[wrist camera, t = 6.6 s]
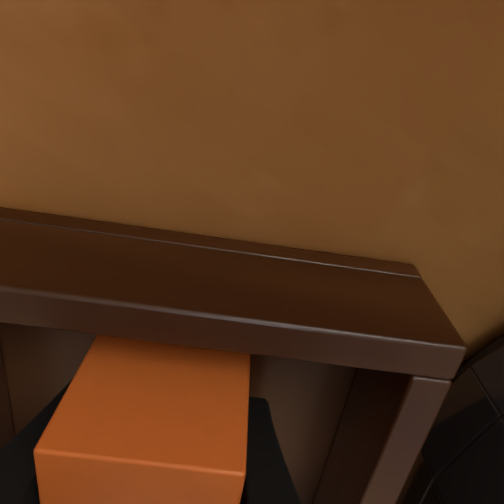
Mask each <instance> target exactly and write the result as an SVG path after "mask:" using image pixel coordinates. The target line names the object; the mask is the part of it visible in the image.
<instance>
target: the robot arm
mask: <svg viewBox="0 0 504 504" xmlns="http://www.w3.org/2000/svg"><path fill="white" fill-rule="evenodd" d="M71 381H72V380H71ZM71 381H70V382H69V383H68V384H67V385H66V386H65V387H64V388H63V389H62V390H61V391H60V392H59V393H58V394H57V395H56V396H55V397H54V399H53V400H52V401H51V402H50V403H49V404H48V405H47V406H46V407H45V408H44V409H43V410H42V411H41V412H40V413H38V414H37V415H36V416H35V417H34V418H33V419H32V420H31V421H30V422H29V423H28V424H27V425H26V426H25V427H24V428H23V429H22V430H21V431H20V432H19V433H18V434H16V435H15V436H14V437H13V438H12V439H11V440H10V441H9V442H8V443H7V444H6V445H5V446H4V447H3V448H1V449H0V504H40V501H39V493H38V485H37V477H36V469H35V461H34V453H33V452H34V448H35V446H36V445H37V443H38V441H39V439H40V437H41V435H42V434H43V432H44V430H45V428H46V426H47V425H48V423H49V421H50V419H51V417H52V416H53V414H54V412H55V410H56V408H57V407H58V405H59V403H60V401H61V399H62V397H63V396H64V394H65V392H66V390H67V388H68V387H69V385H70V383H71ZM240 504H302V503H301V501H300V498H299V496H298V493H297V491H296V488H295V486H294V483H293V481H292V478H291V475H290V473H289V470H288V467H287V465H286V462H285V459H284V456H283V454H282V451H281V448H280V445H279V441H278V438H277V435H276V432H275V428H274V425H273V421H272V417H271V412H270V408H269V402H268V401H267V400H266V399H265V398H258V397H250V396H249V407H248V434H247V462H246V477H245V481H244V486H243V491H242V496H241V500H240Z"/></svg>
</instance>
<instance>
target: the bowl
mask: <svg viewBox="0 0 504 504" xmlns="http://www.w3.org/2000/svg"><path fill="white" fill-rule="evenodd" d="M451 381H452V385H451V387H450V389H449V391H448V393H447V396H446V398H445V400H444V402H443V404H442V406H441V408H440V410H439V413H438V415H437V417H436V419H435V421H434V423H433V425H432V427H431V430H430V432H429V434H428V436H427V438H426V440H425V442H424V444H423V447H422V449H421V451H420V453H419V455H418V457H417V459H416V461H415V464H414V466H413V468H412V470H411V472H410V474H409V476H408V478H407V481H406V483H405V485H404V487H403V489H402V491H401V493H400V495H399V497H398V500H397V502H396V504H504V335H503V336H501V337H500V338H498V339H497V340H495V341H494V342H492V343H491V344H489V345H488V346H486V347H485V348H484V349H482V350H481V351H480V352H478V353H477V354H476V355H475V356H474V357H473V358H471V359H470V360H469V361H468V362H467V363H465V364H464V365H463V366H462V367H461V368H459V369H458V371H457V373H456V375H455V377H454V378H453V379H451Z"/></svg>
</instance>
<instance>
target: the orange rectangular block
mask: <svg viewBox="0 0 504 504" xmlns="http://www.w3.org/2000/svg"><path fill="white" fill-rule="evenodd" d="M249 379H250V354H244V353H237V352H229V351H221V350H213V349H205V348H197V347H189V346H182V345H174V344H166V343H158V342H150V341H142V340H134V339H127V338H119V337H111V336H103V335H97V336H96V338H95V340H94V341H93V343H92V345H91V347H90V349H89V350H88V352H87V354H86V356H85V358H84V359H83V361H82V363H81V365H80V367H79V369H78V370H77V372H76V374H75V376H74V378H73V379H72V381H71V383H70V385H69V387H68V388H67V390H66V392H65V394H64V396H63V397H62V399H61V401H60V403H59V405H58V407H57V408H56V410H55V412H54V414H53V416H52V417H51V419H50V421H49V423H48V425H47V426H46V428H45V430H44V432H43V434H42V435H41V437H40V439H39V441H38V443H37V445H36V446H35V448H34V452H33V453H34V461H35V469H36V477H37V485H38V493H39V501H40V504H240V500H241V496H242V491H243V486H244V481H245V477H246V462H247V434H248V407H249Z"/></svg>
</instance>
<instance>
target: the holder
mask: <svg viewBox="0 0 504 504" xmlns="http://www.w3.org/2000/svg"><path fill="white" fill-rule="evenodd" d="M97 335H103V336H111V337H119V338H127V339H134V340H142V341H150V342H158V343H166V344H174V345H182V346H189V347H197V348H205V349H213V350H221V351H229V352H237V353H244V354H250V379H249V396H250V397H258V398H265V399H266V400H267V401H268V402H269V408H270V412H271V417H272V421H273V425H274V428H275V432H276V435H277V438H278V441H279V445H280V448H281V451H282V454H283V456H284V459H285V462H286V465H287V467H288V470H289V473H290V475H291V478H292V481H293V483H294V486H295V488H296V491H297V493H298V496H299V498H300V501H301V503H302V504H396V502H397V500H398V497H399V495H400V493H401V491H402V489H403V487H404V485H405V483H406V481H407V478H408V476H409V474H410V472H411V470H412V468H413V466H414V464H415V461H416V459H417V457H418V455H419V453H420V451H421V449H422V447H423V444H424V442H425V440H426V438H427V436H428V434H429V432H430V430H431V427H432V425H433V423H434V421H435V419H436V417H437V415H438V413H439V410H440V408H441V406H442V404H443V402H444V400H445V398H446V396H447V393H448V391H449V389H450V387H451V385H452V381H451V379H453V378H454V377H455V375H456V373H457V371H458V369H459V367H460V365H461V363H462V360H463V358H464V356H465V354H466V352H467V346H466V344H465V343H464V341H463V340H462V338H461V337H460V335H459V334H458V332H457V331H456V329H455V328H454V326H453V325H452V323H451V322H450V320H449V319H448V317H447V316H446V314H445V313H444V311H443V310H442V308H441V307H440V305H439V304H438V302H437V301H436V299H435V297H434V296H433V294H432V293H431V291H430V290H429V288H428V287H427V285H426V284H425V282H424V281H423V280H422V279H421V275H420V274H419V272H418V271H417V269H416V268H415V266H413V265H409V264H402V263H395V262H388V261H380V260H373V259H366V258H359V257H352V256H344V255H337V254H330V253H323V252H316V251H309V250H301V249H294V248H287V247H280V246H273V245H266V244H258V243H251V242H244V241H237V240H230V239H222V238H215V237H208V236H201V235H194V234H187V233H179V232H172V231H165V230H158V229H151V228H144V227H136V226H129V225H122V224H115V223H108V222H100V221H93V220H86V219H79V218H72V217H65V216H57V215H50V214H43V213H36V212H29V211H22V210H14V209H7V208H0V449H1V448H3V447H4V446H5V445H6V444H7V443H8V442H9V441H10V440H11V439H12V438H13V437H14V436H15V435H16V434H18V433H19V432H20V431H21V430H22V429H23V428H24V427H25V426H26V425H27V424H28V423H29V422H30V421H31V420H32V419H33V418H34V417H35V416H36V415H37V414H38V413H40V412H41V411H42V410H43V409H44V408H45V407H46V406H47V405H48V404H49V403H50V402H51V401H52V400H53V399H54V397H55V396H56V395H57V394H58V393H59V392H60V391H61V390H62V389H63V388H64V387H65V386H66V385H67V384H68V383H69V382H70V381H71V380H72V379H73V378H74V376H75V374H76V372H77V370H78V369H79V367H80V365H81V363H82V361H83V359H84V358H85V356H86V354H87V352H88V350H89V349H90V347H91V345H92V343H93V341H94V340H95V338H96V336H97Z"/></svg>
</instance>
